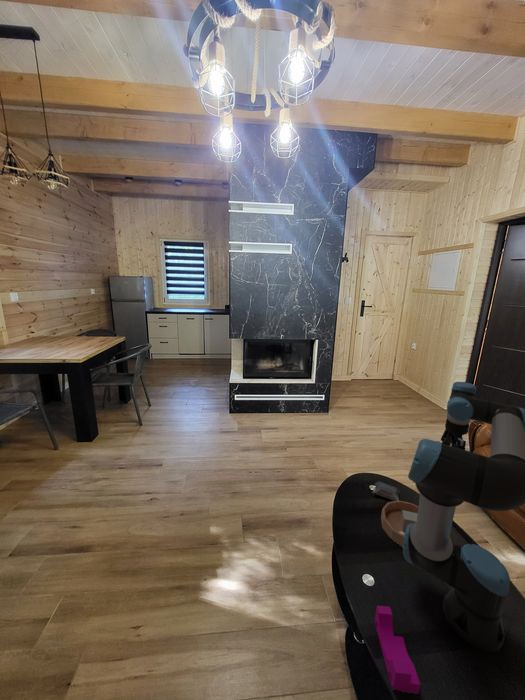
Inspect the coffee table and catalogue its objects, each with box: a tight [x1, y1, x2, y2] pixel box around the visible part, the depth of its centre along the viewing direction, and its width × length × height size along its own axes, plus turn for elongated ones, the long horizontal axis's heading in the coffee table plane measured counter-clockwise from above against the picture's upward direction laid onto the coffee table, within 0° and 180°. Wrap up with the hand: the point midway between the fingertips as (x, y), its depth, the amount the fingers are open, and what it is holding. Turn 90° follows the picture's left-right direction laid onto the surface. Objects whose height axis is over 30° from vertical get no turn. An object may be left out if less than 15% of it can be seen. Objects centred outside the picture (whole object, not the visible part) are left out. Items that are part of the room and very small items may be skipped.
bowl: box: [380, 500, 419, 548], centre depth 119 cm, size 22×22×5 cm
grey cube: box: [400, 510, 418, 531], centre depth 118 cm, size 5×6×6 cm
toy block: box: [374, 605, 421, 693], centre depth 77 cm, size 15×6×8 cm, turn 175°
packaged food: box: [371, 481, 401, 502], centre depth 138 cm, size 9×12×5 cm
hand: (448, 469), depth 114 cm, fingers open, 13 cm apart
